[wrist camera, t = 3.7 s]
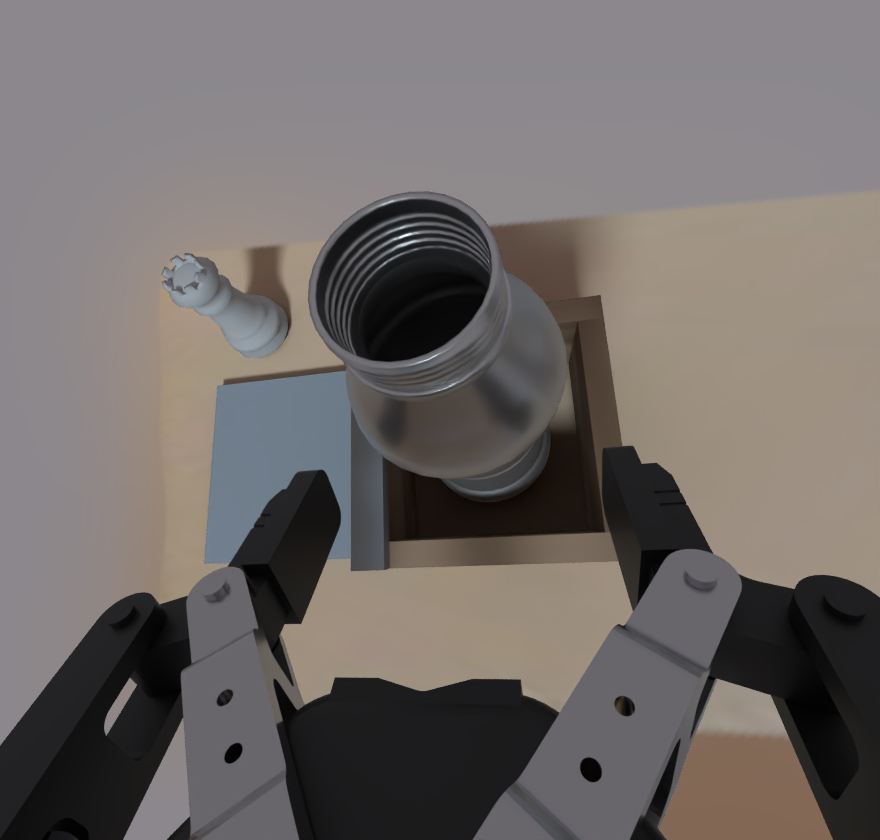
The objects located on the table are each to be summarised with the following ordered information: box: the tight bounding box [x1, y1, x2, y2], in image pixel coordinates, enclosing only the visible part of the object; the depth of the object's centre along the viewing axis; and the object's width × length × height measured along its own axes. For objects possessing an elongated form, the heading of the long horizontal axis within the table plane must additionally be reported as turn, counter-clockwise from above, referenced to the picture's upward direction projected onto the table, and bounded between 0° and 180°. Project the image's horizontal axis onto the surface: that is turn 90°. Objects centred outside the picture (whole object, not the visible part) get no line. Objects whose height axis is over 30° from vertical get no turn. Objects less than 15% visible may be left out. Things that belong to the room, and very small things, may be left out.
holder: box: [351, 295, 622, 571], centre depth 24 cm, size 13×12×7 cm
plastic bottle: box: [308, 192, 567, 502], centre depth 18 cm, size 6×7×20 cm
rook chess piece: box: [162, 253, 288, 358], centre depth 29 cm, size 4×4×8 cm
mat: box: [204, 371, 351, 564], centre depth 29 cm, size 12×12×1 cm
